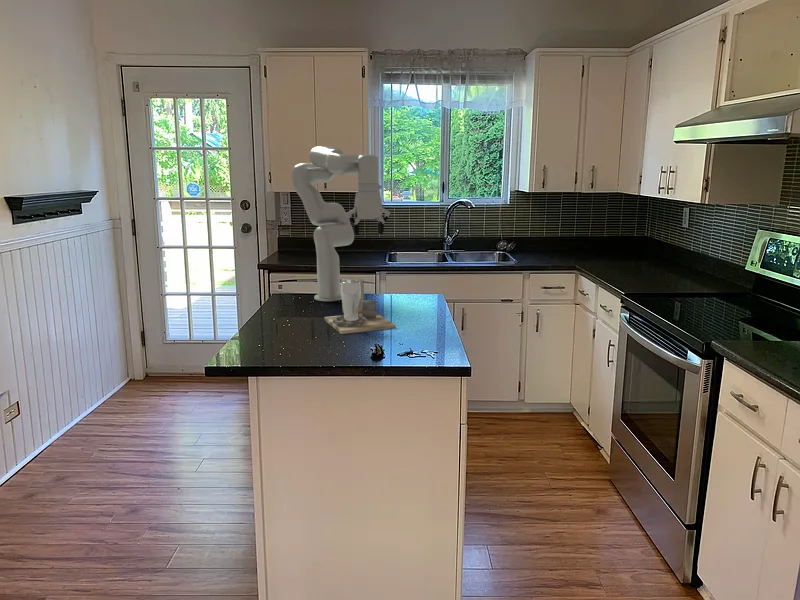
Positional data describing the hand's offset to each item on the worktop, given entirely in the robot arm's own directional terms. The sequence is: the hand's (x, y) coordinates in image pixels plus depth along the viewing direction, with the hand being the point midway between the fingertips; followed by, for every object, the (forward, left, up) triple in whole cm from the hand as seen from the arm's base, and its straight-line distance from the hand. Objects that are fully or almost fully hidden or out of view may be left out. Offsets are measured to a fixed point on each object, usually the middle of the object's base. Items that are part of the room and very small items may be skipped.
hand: (368, 234), depth 225 cm
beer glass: (+17, -13, -29) cm, 36 cm away
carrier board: (+16, -10, -30) cm, 36 cm away
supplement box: (-2, -6, -31) cm, 31 cm away
